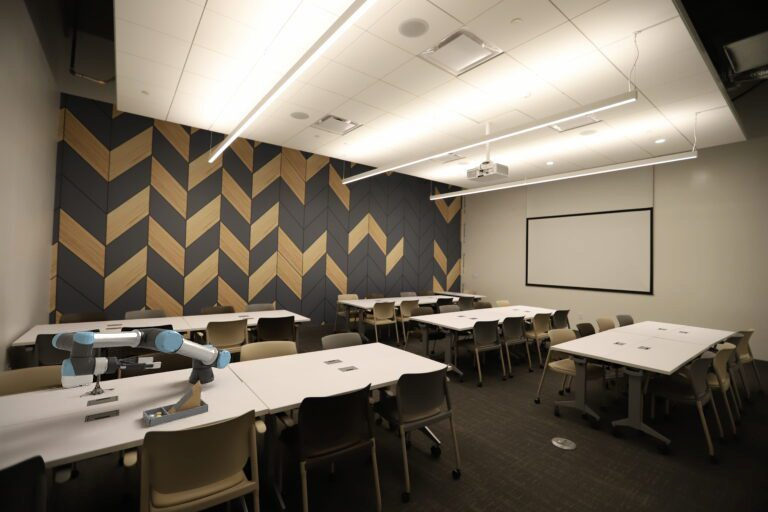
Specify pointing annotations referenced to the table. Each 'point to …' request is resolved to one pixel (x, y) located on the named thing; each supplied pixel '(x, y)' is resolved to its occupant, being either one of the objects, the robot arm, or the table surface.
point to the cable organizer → (76, 380)
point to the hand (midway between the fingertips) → (156, 362)
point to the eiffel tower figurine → (97, 389)
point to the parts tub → (162, 416)
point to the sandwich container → (188, 400)
